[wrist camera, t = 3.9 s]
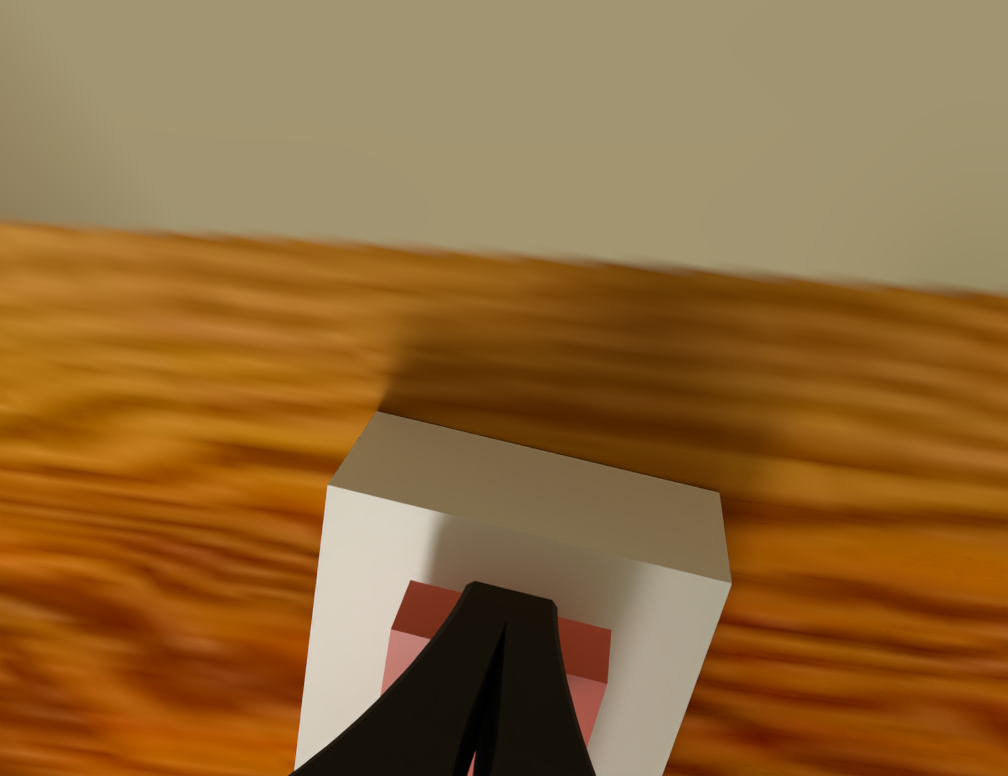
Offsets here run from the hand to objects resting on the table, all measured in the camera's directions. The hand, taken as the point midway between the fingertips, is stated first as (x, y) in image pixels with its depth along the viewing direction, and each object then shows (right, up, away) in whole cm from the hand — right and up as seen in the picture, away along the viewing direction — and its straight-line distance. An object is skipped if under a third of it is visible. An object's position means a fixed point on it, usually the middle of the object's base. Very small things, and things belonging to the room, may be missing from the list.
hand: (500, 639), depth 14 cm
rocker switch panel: (0, -4, +7) cm, 8 cm away
